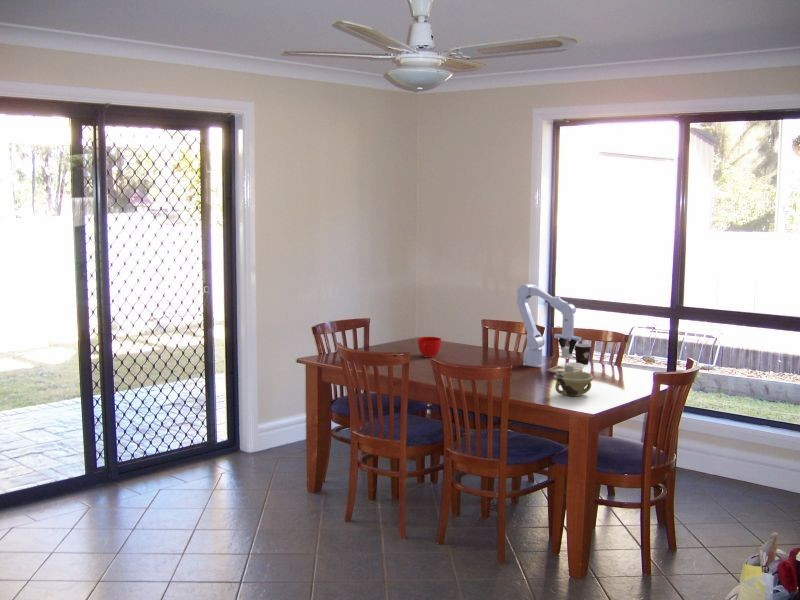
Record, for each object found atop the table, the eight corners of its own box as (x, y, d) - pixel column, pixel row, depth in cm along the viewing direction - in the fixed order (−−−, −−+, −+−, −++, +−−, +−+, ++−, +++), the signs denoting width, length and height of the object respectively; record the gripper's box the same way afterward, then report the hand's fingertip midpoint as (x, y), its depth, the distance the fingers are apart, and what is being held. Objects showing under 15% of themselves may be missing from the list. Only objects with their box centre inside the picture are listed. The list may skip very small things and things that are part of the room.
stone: (564, 373, 409) (565, 365, 409) (566, 372, 413) (566, 364, 412) (572, 374, 408) (573, 366, 407) (574, 372, 411) (574, 365, 410)
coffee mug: (589, 362, 439) (589, 344, 438) (591, 365, 431) (592, 347, 429) (567, 361, 440) (568, 343, 439) (569, 364, 432) (569, 346, 430)
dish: (562, 368, 422) (562, 364, 422) (570, 365, 429) (570, 361, 429) (578, 371, 417) (578, 367, 416) (586, 368, 424) (586, 364, 424)
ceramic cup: (411, 358, 444) (412, 341, 443) (422, 353, 460) (422, 336, 458) (433, 361, 439) (434, 343, 438) (444, 355, 455) (444, 337, 454)
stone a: (561, 356, 418) (561, 347, 417) (565, 355, 421) (565, 346, 421) (567, 357, 416) (568, 348, 415) (571, 356, 419) (572, 347, 418)
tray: (547, 372, 415) (547, 369, 414) (557, 368, 423) (557, 365, 423) (572, 376, 406) (572, 373, 406) (582, 372, 415) (582, 369, 414)
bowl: (586, 389, 379) (587, 370, 378) (596, 400, 361) (597, 379, 360) (549, 390, 378) (550, 370, 377) (558, 400, 361) (558, 379, 359)
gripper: (551, 326, 418) (550, 352, 420) (577, 330, 409) (576, 356, 411) (558, 325, 423) (557, 350, 425) (583, 328, 414) (582, 354, 416)
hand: (567, 353), depth 418 cm, fingers closed on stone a, 4 cm apart
